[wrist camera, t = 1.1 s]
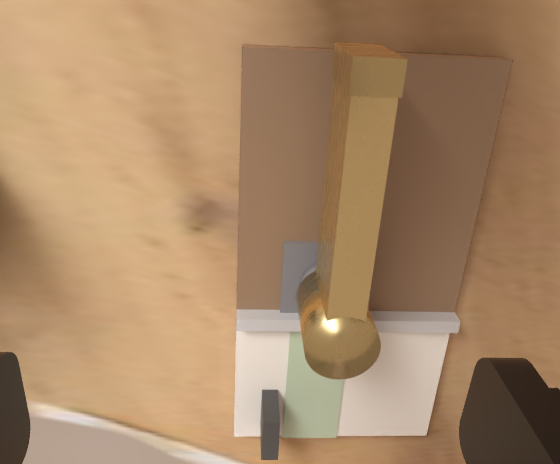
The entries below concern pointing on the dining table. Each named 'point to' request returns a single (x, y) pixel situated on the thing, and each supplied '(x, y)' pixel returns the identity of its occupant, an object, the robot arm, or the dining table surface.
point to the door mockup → (390, 246)
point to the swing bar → (351, 211)
